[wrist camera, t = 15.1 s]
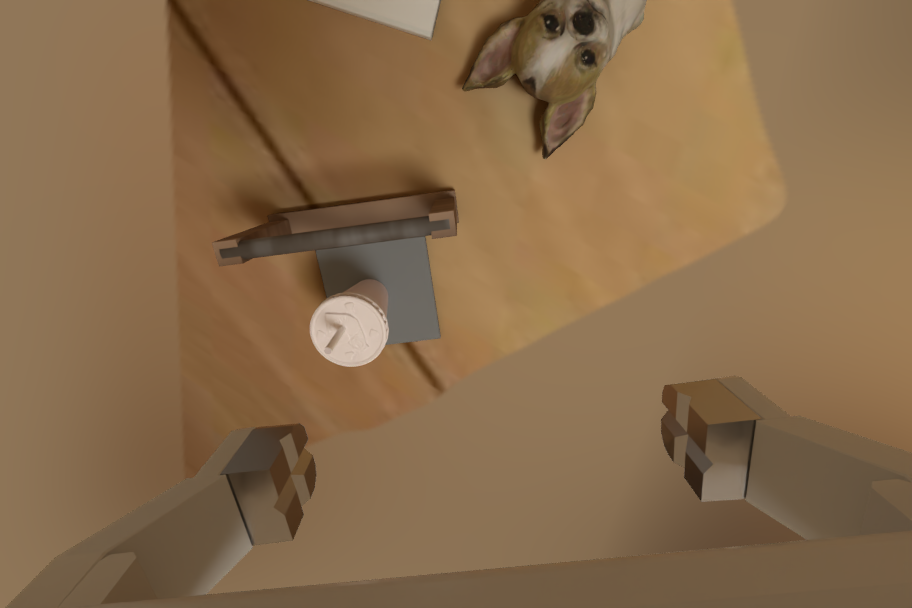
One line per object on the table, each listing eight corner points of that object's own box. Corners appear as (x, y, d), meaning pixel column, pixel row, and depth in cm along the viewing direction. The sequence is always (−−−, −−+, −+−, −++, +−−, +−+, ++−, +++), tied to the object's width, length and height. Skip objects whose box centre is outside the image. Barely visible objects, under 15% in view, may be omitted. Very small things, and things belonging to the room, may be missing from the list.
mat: (317, 249, 43) (315, 250, 43) (425, 235, 43) (424, 236, 42) (340, 348, 47) (339, 350, 46) (440, 336, 46) (440, 338, 46)
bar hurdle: (272, 214, 42) (207, 234, 31) (454, 189, 41) (453, 202, 30) (280, 244, 43) (219, 274, 32) (458, 220, 42) (459, 243, 31)
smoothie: (368, 253, 43) (329, 296, 30) (414, 297, 44) (396, 357, 31) (326, 295, 44) (271, 354, 31) (372, 336, 46) (337, 410, 33)
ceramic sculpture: (716, -19, 28) (562, 168, 33) (664, 15, 37) (545, 162, 41) (599, -143, 27) (452, 75, 31) (570, -78, 35) (457, 87, 39)
